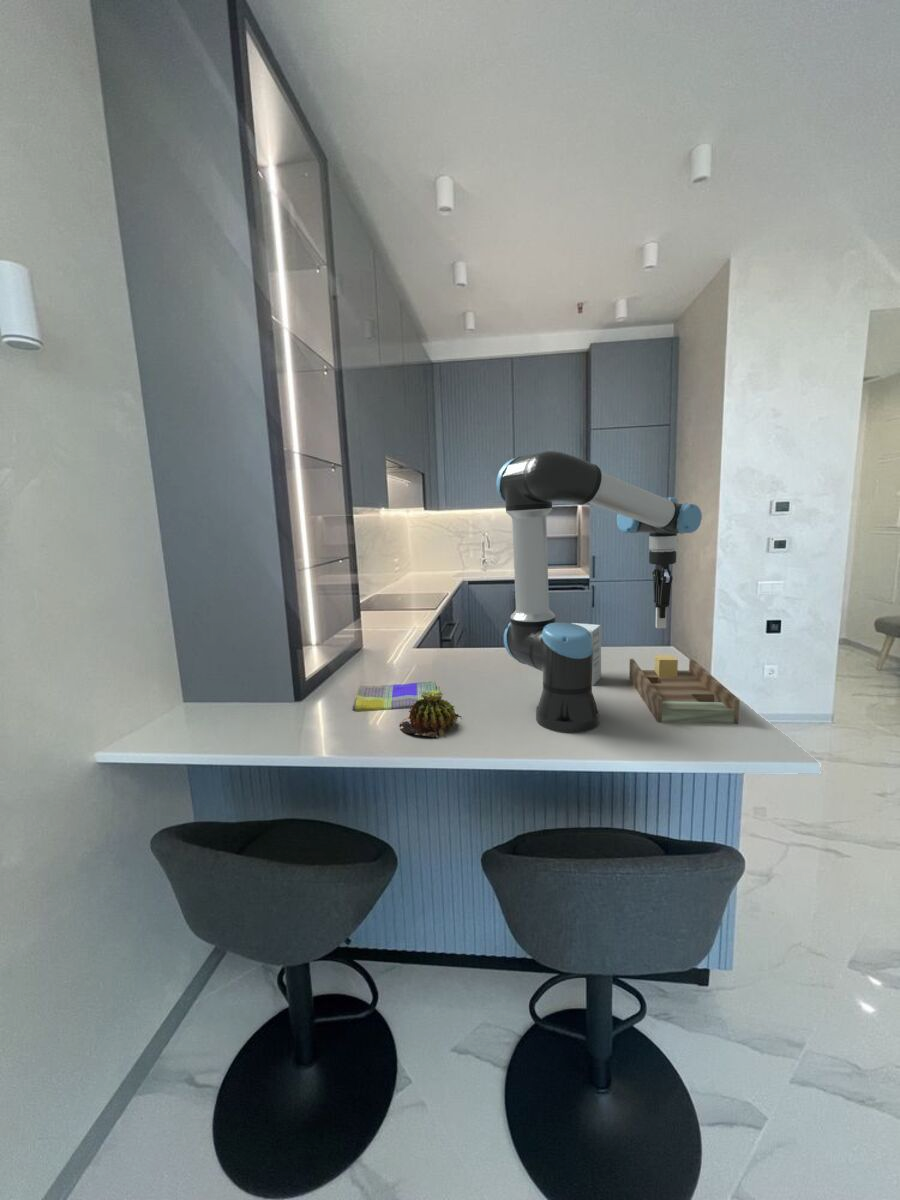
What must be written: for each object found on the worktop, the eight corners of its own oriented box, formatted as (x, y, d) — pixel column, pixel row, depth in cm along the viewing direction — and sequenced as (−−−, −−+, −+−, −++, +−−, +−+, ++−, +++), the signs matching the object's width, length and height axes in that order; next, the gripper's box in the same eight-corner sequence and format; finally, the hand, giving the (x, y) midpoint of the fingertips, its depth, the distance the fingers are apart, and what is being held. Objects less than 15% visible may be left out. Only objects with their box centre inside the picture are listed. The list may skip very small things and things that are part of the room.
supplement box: (601, 677, 155) (602, 624, 152) (593, 687, 147) (593, 631, 144) (571, 673, 160) (571, 622, 157) (561, 682, 152) (561, 628, 149)
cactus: (476, 718, 129) (475, 682, 127) (456, 745, 114) (455, 705, 112) (414, 712, 134) (412, 677, 133) (388, 737, 120) (385, 698, 118)
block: (677, 676, 144) (677, 659, 143) (658, 676, 145) (659, 659, 144) (672, 671, 149) (672, 655, 148) (654, 671, 150) (655, 655, 149)
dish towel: (439, 710, 135) (439, 700, 135) (349, 714, 135) (348, 704, 134) (439, 688, 153) (438, 679, 152) (359, 691, 152) (358, 683, 152)
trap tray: (737, 726, 118) (739, 700, 116) (657, 724, 120) (658, 698, 119) (692, 680, 150) (693, 659, 149) (629, 679, 152) (629, 658, 151)
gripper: (682, 551, 142) (680, 632, 146) (669, 548, 155) (667, 622, 159) (655, 552, 143) (653, 633, 147) (644, 549, 156) (643, 623, 160)
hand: (660, 627), depth 153 cm, fingers closed
